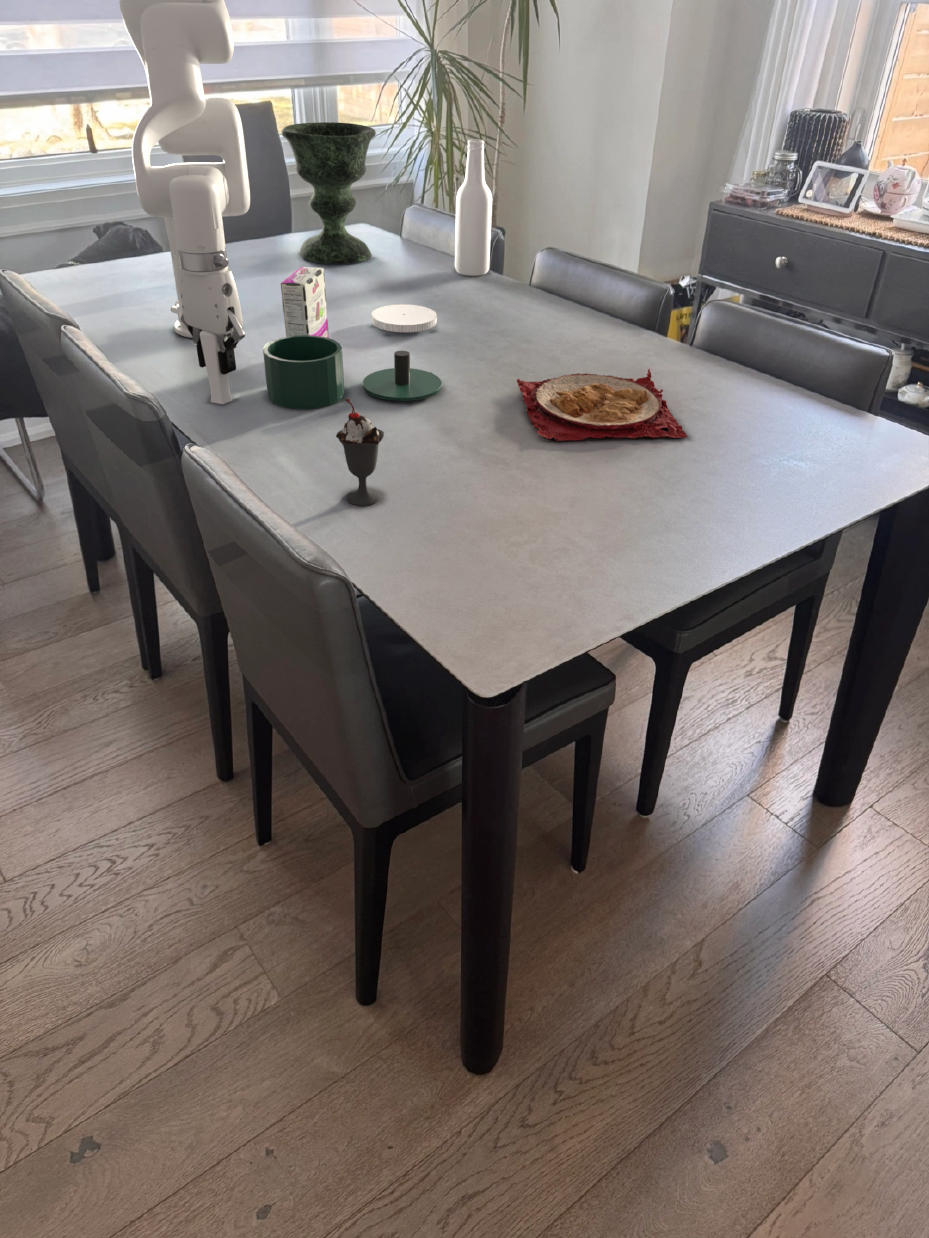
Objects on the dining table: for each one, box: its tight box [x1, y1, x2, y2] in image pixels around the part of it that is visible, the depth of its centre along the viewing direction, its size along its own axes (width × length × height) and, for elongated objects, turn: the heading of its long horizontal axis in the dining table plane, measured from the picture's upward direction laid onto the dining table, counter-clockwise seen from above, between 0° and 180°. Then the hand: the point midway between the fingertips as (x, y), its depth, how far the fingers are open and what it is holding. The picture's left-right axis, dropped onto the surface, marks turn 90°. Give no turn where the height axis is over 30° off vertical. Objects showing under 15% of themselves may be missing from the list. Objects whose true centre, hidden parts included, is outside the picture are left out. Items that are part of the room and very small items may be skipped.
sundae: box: [335, 398, 385, 507], centre depth 131 cm, size 7×7×15 cm
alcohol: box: [454, 138, 493, 277], centre depth 225 cm, size 9×9×30 cm
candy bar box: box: [280, 266, 330, 339], centre depth 175 cm, size 11×5×16 cm, turn 168°
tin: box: [262, 335, 345, 410], centre depth 164 cm, size 14×14×8 cm
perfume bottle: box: [200, 330, 234, 405], centre depth 159 cm, size 5×4×15 cm
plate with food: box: [516, 368, 689, 442], centre depth 162 cm, size 24×26×4 cm
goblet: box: [280, 121, 377, 265], centre depth 233 cm, size 22×22×30 cm
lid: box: [362, 350, 443, 402], centre depth 168 cm, size 15×15×7 cm
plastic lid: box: [370, 303, 438, 333], centre depth 197 cm, size 14×14×2 cm
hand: (217, 367), depth 160 cm, fingers closed on perfume bottle, 4 cm apart
